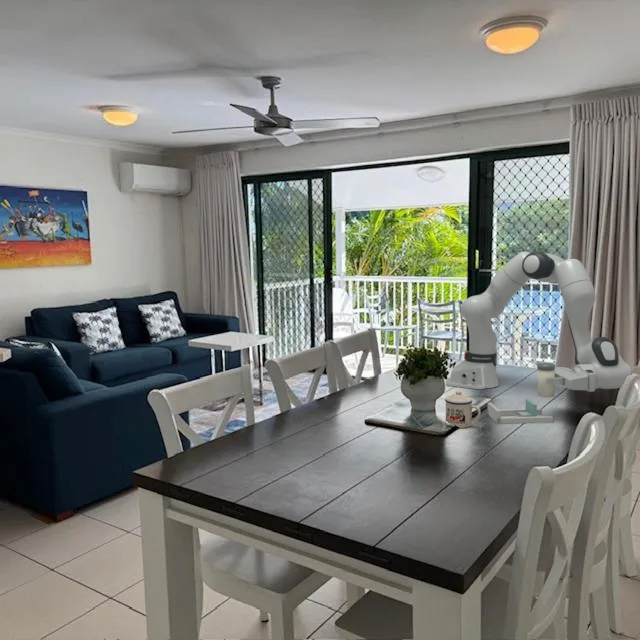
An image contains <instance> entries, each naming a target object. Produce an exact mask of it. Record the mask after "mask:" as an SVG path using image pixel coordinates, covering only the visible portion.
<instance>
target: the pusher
mask: <svg viewBox="0 0 640 640" xmlns="http://www.w3.org/2000/svg"><path fill="white" fill-rule="evenodd" d="M537 408H538V404H536V403H535V402H534V401H533V400H531V399H529V398H527V399H525V408H524V409H525V412H518V415H517V417H534V416H538V415H537Z"/></svg>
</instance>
